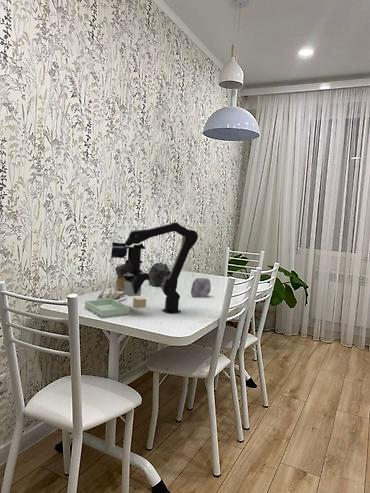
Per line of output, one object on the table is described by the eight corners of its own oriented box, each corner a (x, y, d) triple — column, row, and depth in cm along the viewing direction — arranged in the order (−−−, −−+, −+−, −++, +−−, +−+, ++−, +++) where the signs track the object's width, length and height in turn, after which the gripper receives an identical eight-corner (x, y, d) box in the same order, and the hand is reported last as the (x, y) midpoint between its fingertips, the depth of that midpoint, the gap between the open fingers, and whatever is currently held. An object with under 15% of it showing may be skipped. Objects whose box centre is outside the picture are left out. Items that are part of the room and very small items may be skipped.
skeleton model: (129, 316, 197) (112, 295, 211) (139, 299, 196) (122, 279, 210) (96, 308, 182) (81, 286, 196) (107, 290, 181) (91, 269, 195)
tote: (129, 314, 168) (129, 307, 168) (101, 318, 160) (102, 310, 160) (110, 305, 182) (111, 298, 182) (84, 307, 174) (85, 301, 174)
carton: (145, 307, 183) (146, 299, 183) (137, 308, 181) (138, 299, 180) (141, 305, 187) (141, 297, 187) (132, 305, 184) (133, 297, 184)
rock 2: (205, 295, 218) (206, 277, 217) (210, 297, 213) (211, 279, 212) (189, 296, 213) (190, 277, 212) (194, 298, 209) (195, 279, 208)
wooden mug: (136, 292, 214) (138, 260, 212) (112, 290, 215) (114, 258, 213) (139, 289, 223) (141, 258, 221) (117, 287, 224) (118, 257, 222)
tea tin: (140, 295, 173) (141, 281, 173) (129, 296, 170) (130, 282, 169) (134, 293, 178) (135, 279, 177) (124, 294, 174) (124, 280, 174)
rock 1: (170, 288, 231) (172, 264, 229) (147, 287, 229) (149, 263, 227) (168, 283, 247) (169, 260, 246) (146, 282, 245) (148, 259, 244)
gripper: (108, 256, 175) (107, 289, 176) (128, 261, 160) (126, 298, 161) (130, 255, 182) (128, 288, 183) (151, 261, 167) (149, 296, 168)
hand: (132, 292), depth 174 cm, fingers closed on tea tin, 5 cm apart
